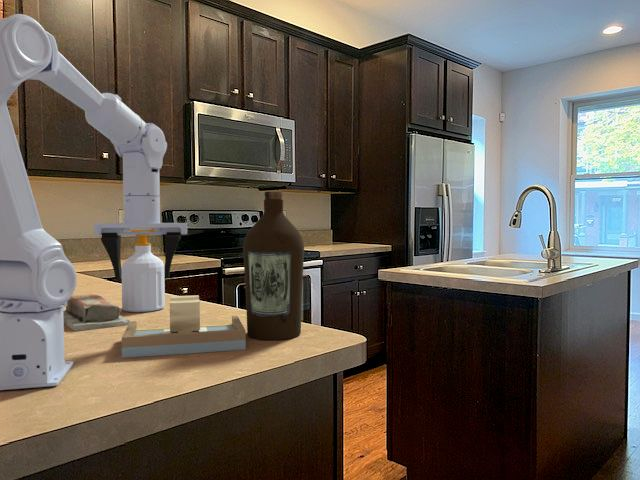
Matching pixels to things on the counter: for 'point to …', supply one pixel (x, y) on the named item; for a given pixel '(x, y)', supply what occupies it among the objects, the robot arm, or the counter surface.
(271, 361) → the counter surface
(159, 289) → the soap bottle
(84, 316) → the packaged product
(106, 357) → the counter surface
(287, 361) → the counter surface
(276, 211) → the olive oil
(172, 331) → the beige block with rod
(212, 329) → the dock
